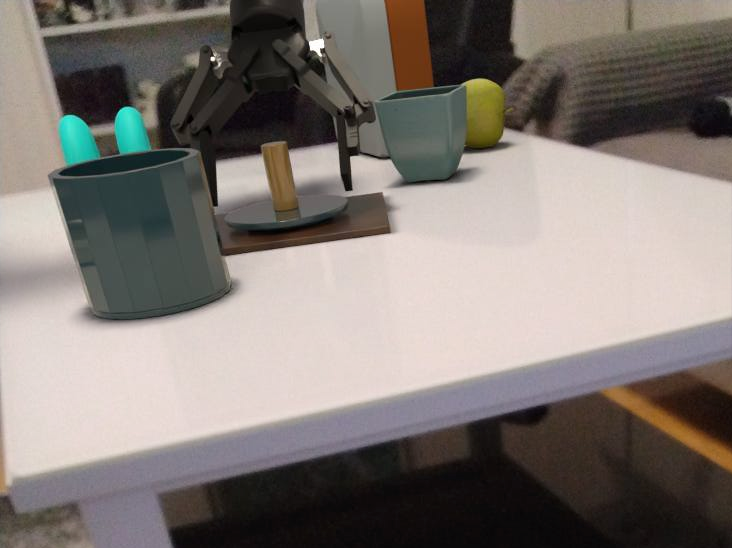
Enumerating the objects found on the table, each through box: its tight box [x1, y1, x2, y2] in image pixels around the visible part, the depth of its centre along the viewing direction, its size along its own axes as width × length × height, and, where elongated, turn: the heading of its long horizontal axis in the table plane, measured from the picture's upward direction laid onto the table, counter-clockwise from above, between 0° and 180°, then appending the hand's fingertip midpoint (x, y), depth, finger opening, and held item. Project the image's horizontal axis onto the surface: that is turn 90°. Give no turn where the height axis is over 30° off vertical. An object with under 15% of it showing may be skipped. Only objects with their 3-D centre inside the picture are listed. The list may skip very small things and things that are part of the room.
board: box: [215, 191, 391, 256], centre depth 104 cm, size 20×18×1 cm
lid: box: [225, 140, 349, 231], centre depth 102 cm, size 13×13×7 cm
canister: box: [47, 147, 232, 320], centre depth 83 cm, size 12×12×10 cm
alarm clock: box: [315, 0, 435, 159], centre depth 137 cm, size 18×9×21 cm, turn 26°
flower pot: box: [374, 84, 467, 183], centre depth 117 cm, size 9×9×9 cm
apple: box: [460, 78, 515, 149], centre depth 131 cm, size 8×9×8 cm
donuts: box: [58, 106, 152, 166], centre depth 128 cm, size 10×10×10 cm
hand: (278, 191), depth 100 cm, fingers open, 13 cm apart
